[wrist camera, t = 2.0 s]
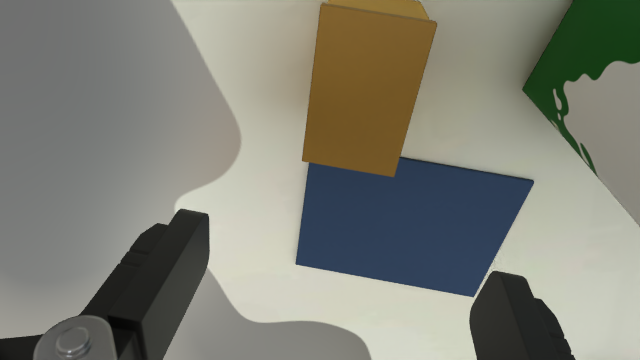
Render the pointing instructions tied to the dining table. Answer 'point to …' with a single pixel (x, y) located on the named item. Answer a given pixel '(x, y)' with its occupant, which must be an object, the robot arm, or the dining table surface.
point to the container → (365, 82)
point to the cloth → (409, 223)
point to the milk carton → (596, 91)
